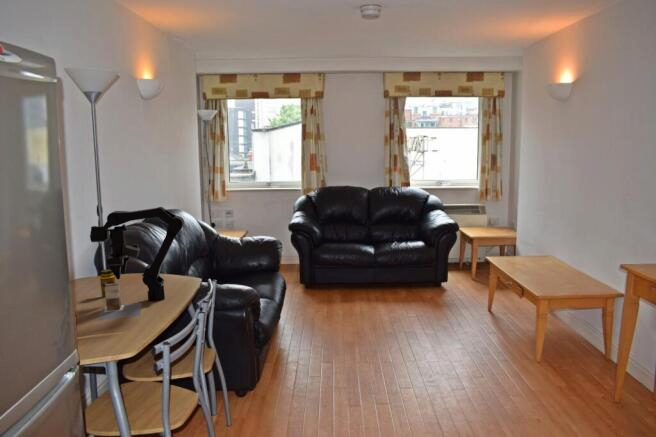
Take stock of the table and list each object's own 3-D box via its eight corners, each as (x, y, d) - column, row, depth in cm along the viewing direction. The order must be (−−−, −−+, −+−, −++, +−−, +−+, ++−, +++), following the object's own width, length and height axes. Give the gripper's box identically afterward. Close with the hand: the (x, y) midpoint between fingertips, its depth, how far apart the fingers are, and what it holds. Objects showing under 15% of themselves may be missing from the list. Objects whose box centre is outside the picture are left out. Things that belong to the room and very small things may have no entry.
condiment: (107, 299, 243) (105, 272, 241) (95, 296, 247) (92, 271, 245) (121, 294, 249) (118, 269, 248) (108, 292, 254) (106, 267, 252)
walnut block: (121, 306, 229) (119, 294, 228) (120, 309, 224) (118, 297, 223) (108, 307, 227) (107, 295, 227) (107, 311, 223) (105, 299, 222)
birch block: (107, 295, 227) (106, 284, 226) (120, 294, 228) (119, 283, 227) (105, 299, 222) (104, 287, 221) (118, 297, 223) (117, 286, 222)
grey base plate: (142, 304, 233) (142, 302, 232) (140, 317, 215) (140, 315, 215) (102, 309, 228) (102, 307, 228) (96, 322, 211) (96, 320, 211)
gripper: (132, 243, 223) (135, 280, 225) (141, 235, 241) (144, 270, 244) (104, 245, 221) (107, 282, 224) (115, 237, 240) (118, 271, 242)
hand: (121, 276), depth 233 cm, fingers open, 9 cm apart
